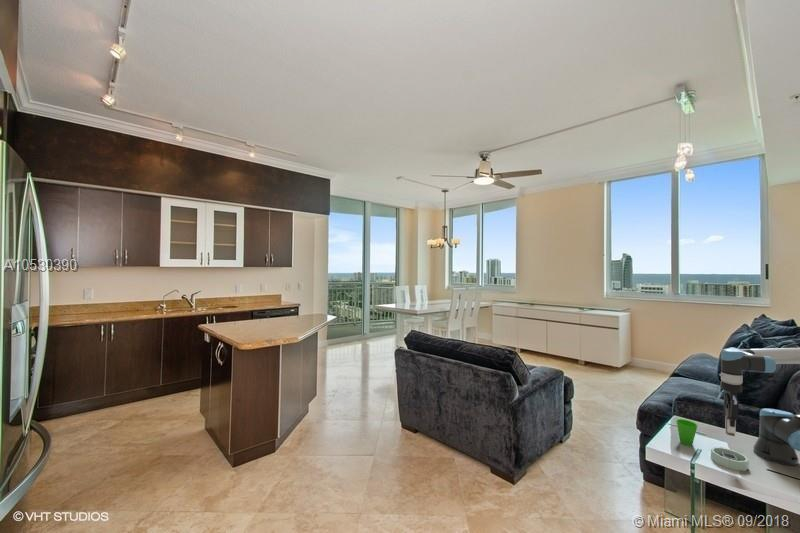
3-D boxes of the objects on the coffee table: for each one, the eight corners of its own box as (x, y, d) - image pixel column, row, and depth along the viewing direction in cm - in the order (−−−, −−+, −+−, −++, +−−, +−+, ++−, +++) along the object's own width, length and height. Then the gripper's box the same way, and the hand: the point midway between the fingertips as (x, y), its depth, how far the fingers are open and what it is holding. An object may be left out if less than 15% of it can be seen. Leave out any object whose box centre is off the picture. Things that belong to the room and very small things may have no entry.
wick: (732, 434, 166) (733, 409, 166) (734, 436, 164) (735, 410, 164) (725, 432, 167) (726, 407, 167) (727, 434, 165) (728, 409, 165)
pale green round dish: (742, 460, 168) (742, 452, 168) (752, 473, 157) (752, 464, 157) (708, 452, 174) (708, 444, 174) (715, 464, 163) (715, 456, 163)
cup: (701, 448, 178) (702, 427, 178) (681, 446, 180) (682, 425, 179) (690, 440, 187) (691, 419, 186) (671, 437, 188) (672, 417, 188)
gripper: (716, 376, 174) (715, 423, 174) (726, 385, 160) (725, 436, 161) (736, 379, 170) (735, 426, 170) (748, 388, 157) (747, 440, 157)
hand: (730, 431), depth 165 cm, fingers closed on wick, 2 cm apart
